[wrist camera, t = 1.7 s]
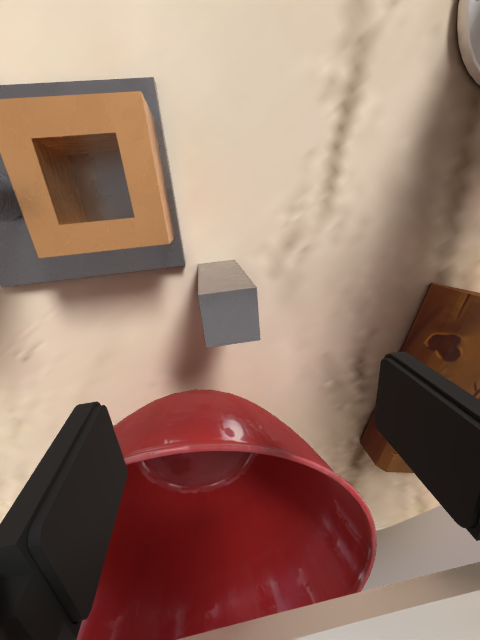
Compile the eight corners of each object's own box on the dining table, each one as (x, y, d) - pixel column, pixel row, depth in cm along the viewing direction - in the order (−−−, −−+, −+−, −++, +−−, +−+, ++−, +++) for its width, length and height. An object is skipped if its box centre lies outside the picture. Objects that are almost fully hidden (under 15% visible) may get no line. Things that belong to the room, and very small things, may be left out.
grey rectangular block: (234, 259, 27) (256, 287, 17) (238, 294, 28) (260, 339, 18) (198, 264, 27) (197, 294, 16) (203, 299, 28) (206, 347, 18)
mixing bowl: (54, 339, 27) (-105, 477, 13) (323, 336, 31) (426, 437, 17) (94, 527, 37) (29, 720, 23) (294, 505, 41) (343, 658, 27)
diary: (424, 281, 31) (470, 294, 26) (544, 306, 35) (606, 322, 30) (356, 437, 39) (381, 473, 33) (462, 444, 43) (499, 477, 37)
